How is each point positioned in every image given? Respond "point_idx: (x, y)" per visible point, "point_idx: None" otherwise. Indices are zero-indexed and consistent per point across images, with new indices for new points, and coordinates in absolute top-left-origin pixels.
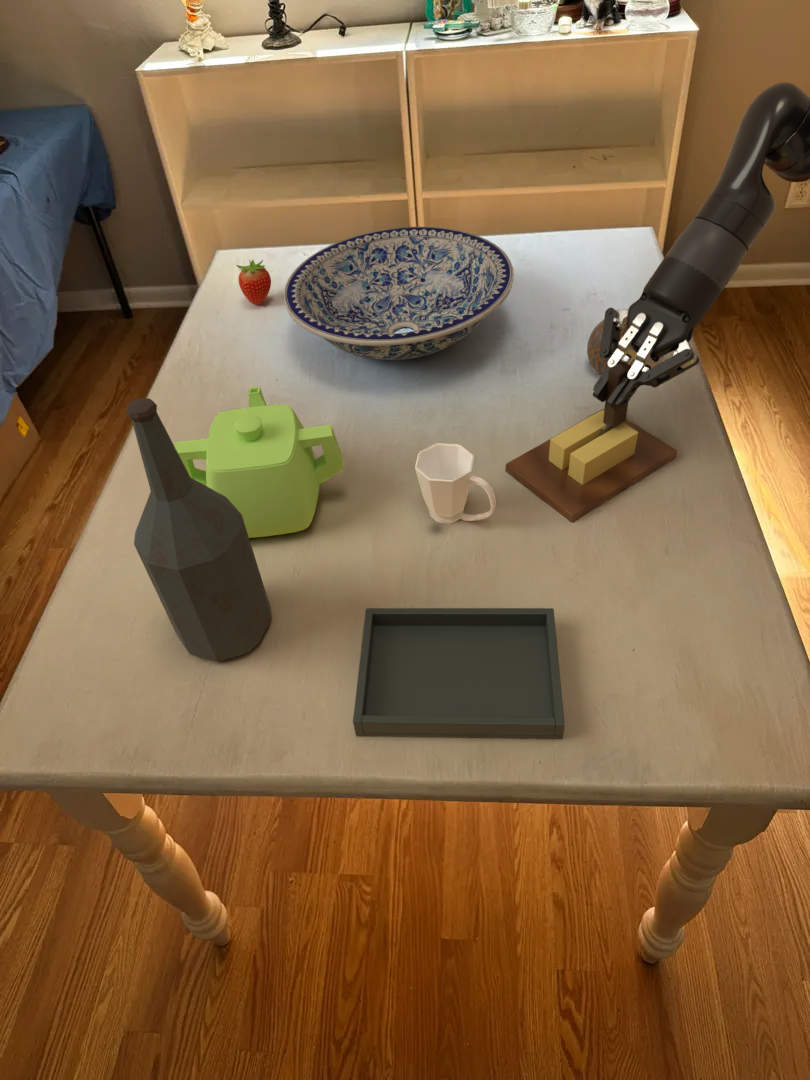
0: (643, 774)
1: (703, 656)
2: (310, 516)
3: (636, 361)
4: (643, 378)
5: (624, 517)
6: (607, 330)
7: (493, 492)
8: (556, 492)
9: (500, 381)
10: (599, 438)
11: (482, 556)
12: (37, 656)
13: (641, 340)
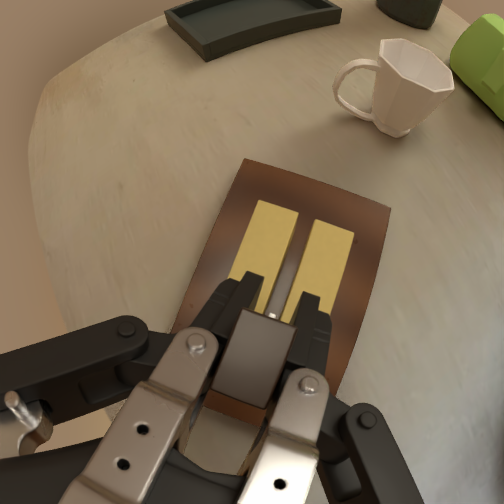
0: (119, 38)
1: (83, 107)
2: (452, 57)
3: (189, 391)
4: (141, 324)
5: (182, 211)
6: (400, 500)
7: (341, 74)
8: (289, 185)
9: (483, 398)
10: (267, 285)
11: (311, 85)
12: (442, 4)
13: (194, 494)
